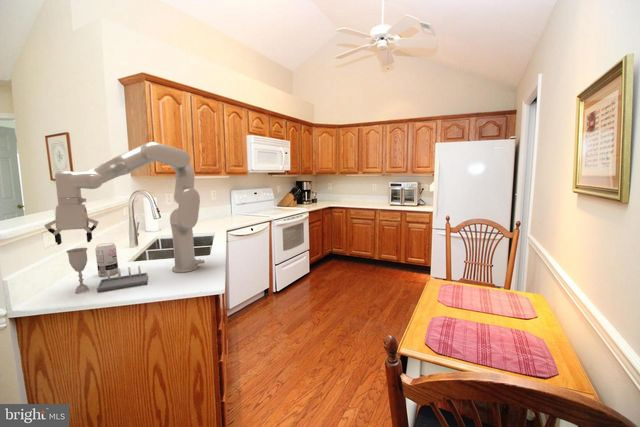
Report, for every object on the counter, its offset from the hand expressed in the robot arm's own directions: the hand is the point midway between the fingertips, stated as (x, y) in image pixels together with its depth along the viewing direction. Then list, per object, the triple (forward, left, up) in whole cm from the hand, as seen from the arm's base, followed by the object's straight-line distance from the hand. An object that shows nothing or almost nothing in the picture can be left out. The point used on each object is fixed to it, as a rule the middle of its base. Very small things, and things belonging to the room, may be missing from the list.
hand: (74, 242), depth 123 cm
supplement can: (-7, -20, -21) cm, 30 cm away
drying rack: (-15, 0, -21) cm, 26 cm away
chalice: (0, 0, -21) cm, 21 cm away
